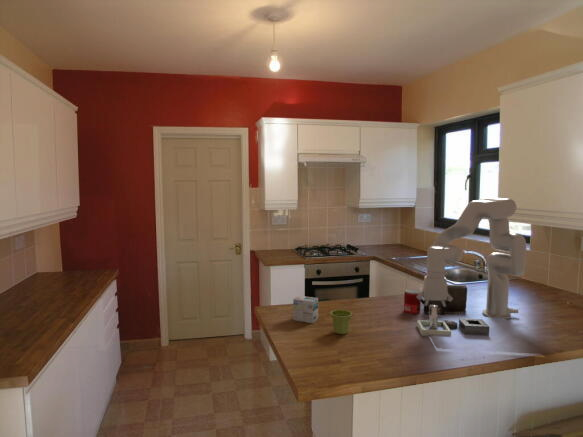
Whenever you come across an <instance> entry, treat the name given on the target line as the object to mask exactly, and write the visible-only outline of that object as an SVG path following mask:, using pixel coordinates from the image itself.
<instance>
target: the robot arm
mask: <svg viewBox="0 0 583 437" xmlns="http://www.w3.org/2000/svg"><path fill="white" fill-rule="evenodd" d="M516 211H517V204H516V202H515V201H514V199H512V198H505V197H503V198H501V197H482V198H481V199H477V200H476V199H475V200H472V201H469V202H468V204H467V205H466V207H465V208H464V210H463V211H462V213H461V215H460V216H459V218H458V219H457V220H456V222H455V223H454V224H453V225H451V226H450V227H449V226H448V228H446V229H445V230H442V232H440V233H439V234H438V235H437V236H436V238H435V239H434V240H433V242H432V244H431V246H429V247H427V255H426V275H425V276H424V277H423V282H422V291H421V293H420V294H418V295H417V298H418V299H419V300H420V301H421V304H422V305H423V309H424V310H423V313H425V315H426V316H428V315H429V314H428V305H427V304H428V302H429V300H438V301H441V303H442V304H441V305H440V314H439V315H441V316H444V314H443V313H445V307H446V305H447V304H448V303H449V302H450V301H452V300H453V298H452V297H451V296H450V295H449V293H448V292H447V285H448V281H447V278H446V276H449V272H448V271H446V263H450V264H454V263H458V262H460V261H461V260H462V259H463V256H464V253H463V250H462V249H461V248H460V247H459V246H455V245H452V244H450V243H452V242H453V241H454V240H458V239H461V238H465V237H468V236H471V235H473V234H474V233H475V231H476V229H477V227H478V226H479V224H480V223H481V221H482V220H487V221H488V224H489V245H490V247H491V249H493V250H496V252H494V251H493V252H492V253H489V254H488V256H487V257H486V262H485V263H486V264H485V265H486V269H487V287H486V288H487V290H486V309H485V308H484V309H483V310H482V314H483V316H485V317H486V318H487V317H488V318H497V319H498V318H499V319H504V320H508V319H511V317H512V314H519V309H516V308H512V307H509V295H510V294H509V292H510V280H509V276H508V275H510V276H516V277H519V276H522V275H524V274H525V271H526V268H527V241H526V239H525V237H524V236H523V235H522V234H521V233H518V232H511V231H510V220H509V217H510V218H511V217H512V216H513V215H515V213H516ZM497 251H499V252H497ZM500 251H501V252H500ZM504 252H506V253H504ZM447 296H448V299H447ZM423 298H424V299H423ZM444 300H445V301H444Z"/></svg>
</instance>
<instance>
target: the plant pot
mask: <svg viewBox="0 0 583 437" xmlns="http://www.w3.org/2000/svg"><path fill="white" fill-rule="evenodd" d="M330 315H331V318H332V326H333V333H336V334H340V335H345V334H347V333H349V326H350V320H351V318H352V317H351V316H352V315H353V313H352V312H351V311H349V310H345V309H335V310H331V311H330Z"/></svg>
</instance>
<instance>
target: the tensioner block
mask: <svg viewBox="0 0 583 437" xmlns="http://www.w3.org/2000/svg"><path fill="white" fill-rule="evenodd" d="M458 329H459V330H460V331H461V333H462V334H464V336H467V335H468V336H488V337H489V336H490V326H489V325H488V324H487V322H485V320H484V319H482V318H460V317H459V318H458Z"/></svg>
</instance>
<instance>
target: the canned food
mask: <svg viewBox="0 0 583 437" xmlns="http://www.w3.org/2000/svg"><path fill="white" fill-rule="evenodd" d="M421 292H422V291H421V290H419V289H416V288H406V289H404V297H403V298H404V300H403V311H404V312H405V313H406V314H410V315H417V314H420V313H421V304H422V302H421V301H420V300H419V299H418V298H417V295H418V294H420V293H421Z"/></svg>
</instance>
